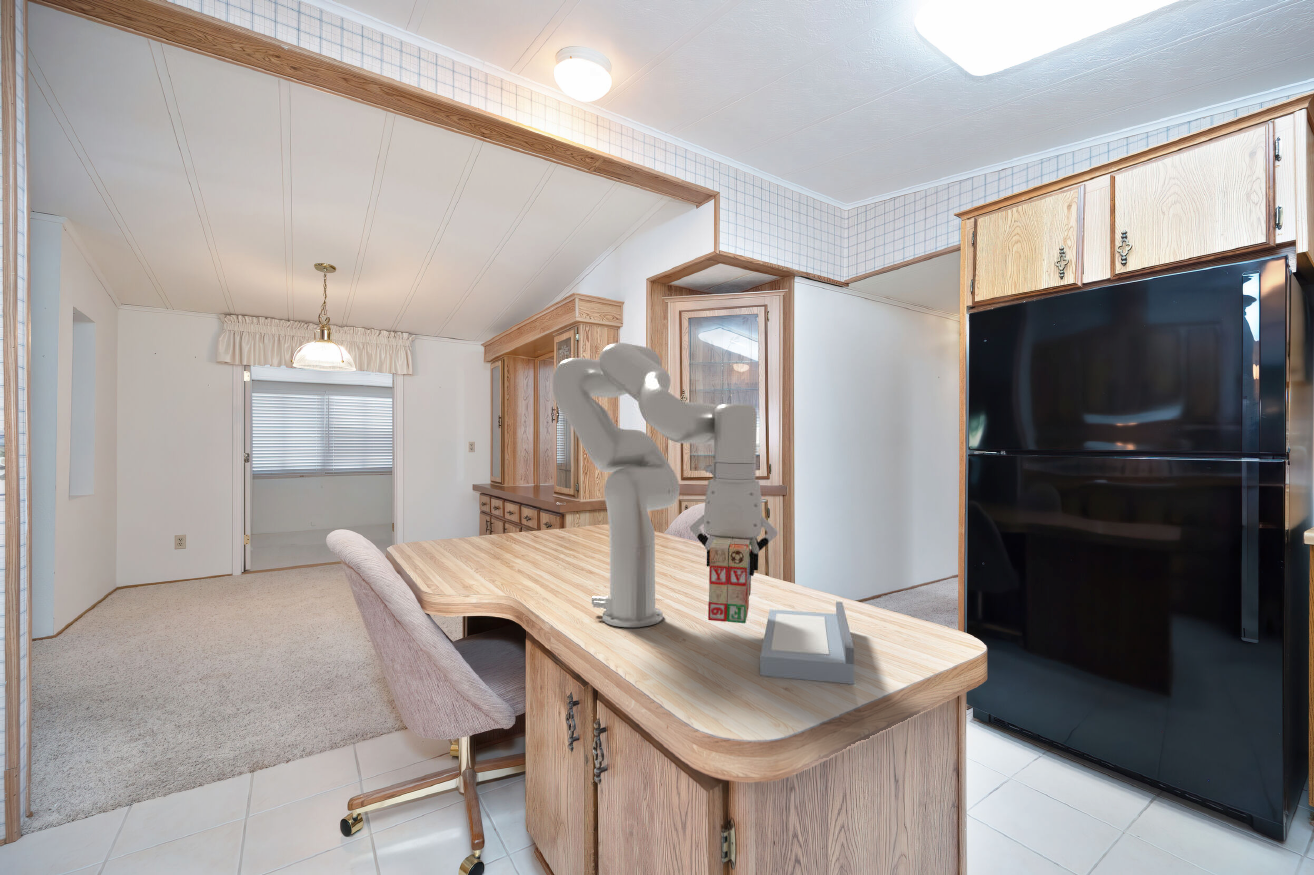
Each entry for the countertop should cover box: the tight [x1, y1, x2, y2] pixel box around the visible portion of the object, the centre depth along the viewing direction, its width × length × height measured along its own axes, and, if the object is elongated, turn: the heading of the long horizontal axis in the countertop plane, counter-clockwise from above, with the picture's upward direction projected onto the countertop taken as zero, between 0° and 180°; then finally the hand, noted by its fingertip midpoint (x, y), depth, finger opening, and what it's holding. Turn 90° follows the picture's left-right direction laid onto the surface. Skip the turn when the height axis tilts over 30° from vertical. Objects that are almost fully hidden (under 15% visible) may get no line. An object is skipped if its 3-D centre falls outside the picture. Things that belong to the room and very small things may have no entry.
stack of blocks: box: [707, 537, 752, 624], centre depth 102 cm, size 21×6×12 cm, turn 168°
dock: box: [759, 601, 855, 685], centre depth 100 cm, size 14×26×5 cm, turn 166°
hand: (732, 571), depth 102 cm, fingers closed on stack of blocks, 6 cm apart
